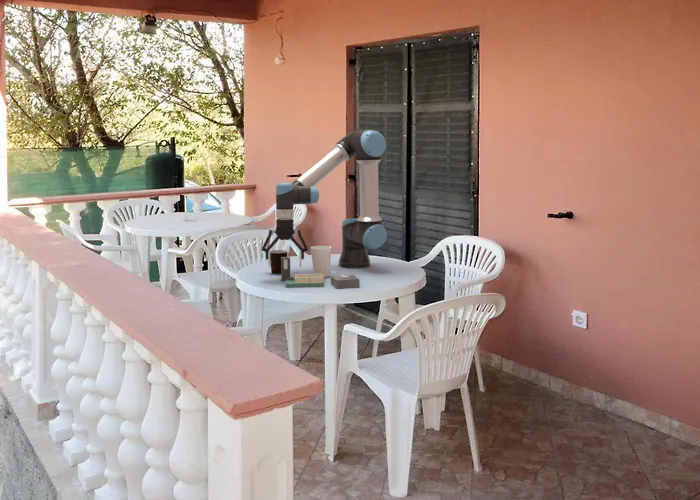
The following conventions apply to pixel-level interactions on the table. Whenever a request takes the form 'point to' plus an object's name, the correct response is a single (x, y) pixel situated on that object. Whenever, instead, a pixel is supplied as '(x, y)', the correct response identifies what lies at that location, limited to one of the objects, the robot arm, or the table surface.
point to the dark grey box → (345, 281)
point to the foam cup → (321, 259)
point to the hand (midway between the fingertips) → (284, 266)
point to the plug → (285, 268)
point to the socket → (309, 278)
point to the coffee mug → (276, 260)
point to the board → (291, 283)
